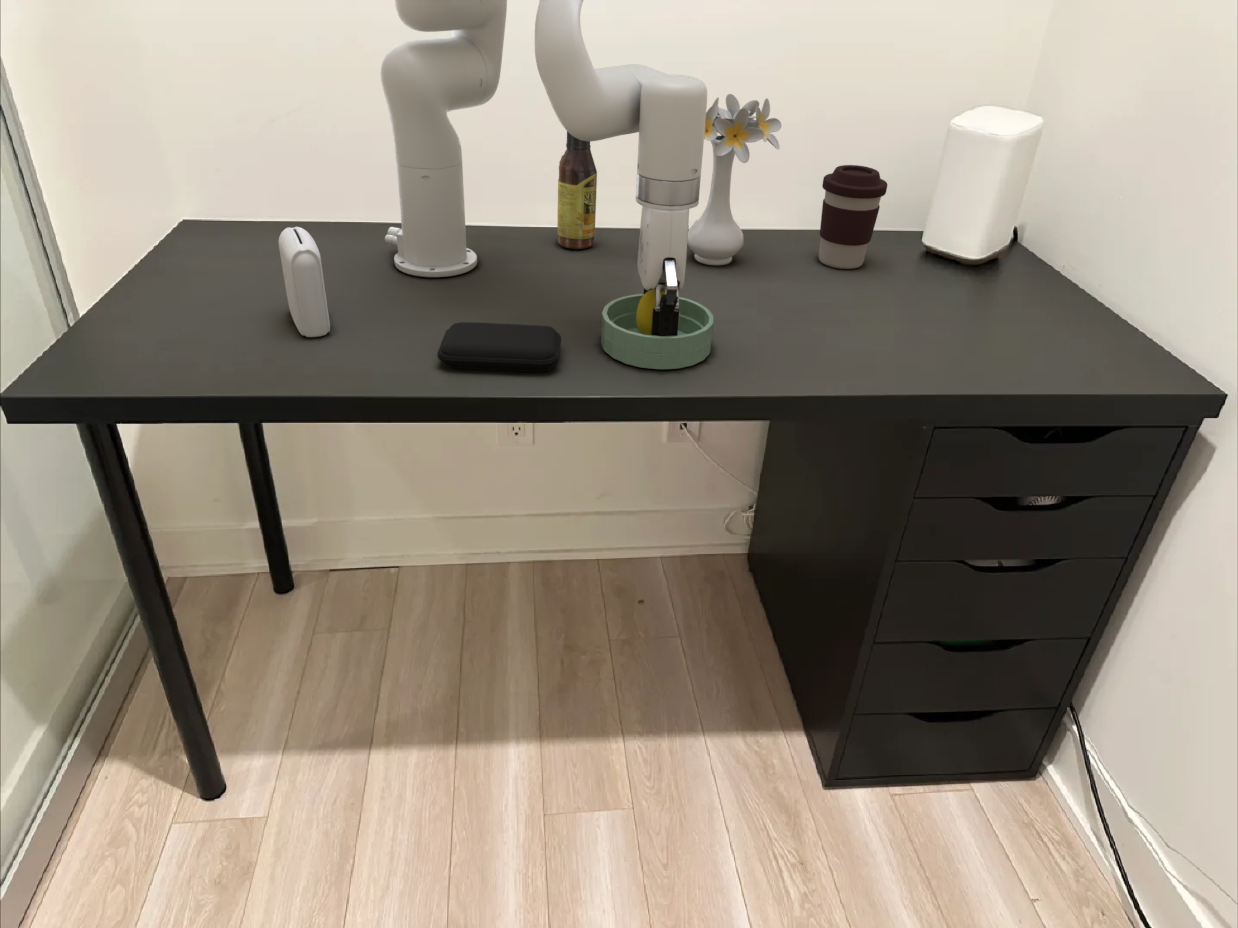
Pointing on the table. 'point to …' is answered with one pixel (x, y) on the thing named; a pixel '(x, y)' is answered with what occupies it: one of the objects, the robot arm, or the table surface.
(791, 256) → the table surface
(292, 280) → the photo printer
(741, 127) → the flower vase
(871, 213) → the coffee cup
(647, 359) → the fruit bowl
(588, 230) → the sauce bottle
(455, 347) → the carrying case
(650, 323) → the lemon
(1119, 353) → the table surface
